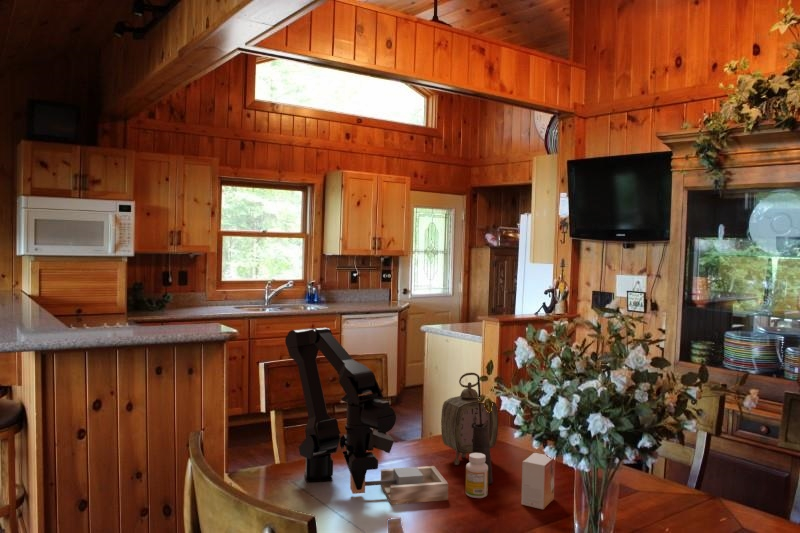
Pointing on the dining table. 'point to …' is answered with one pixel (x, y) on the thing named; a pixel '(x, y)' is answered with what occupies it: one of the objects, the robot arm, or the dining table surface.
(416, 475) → the tethered block
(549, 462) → the small box
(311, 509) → the dining table surface
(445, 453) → the dining table surface
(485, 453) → the butter churn
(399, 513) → the dining table surface
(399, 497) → the tray
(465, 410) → the tabletop clock
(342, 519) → the dining table surface
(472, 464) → the supplement bottle
